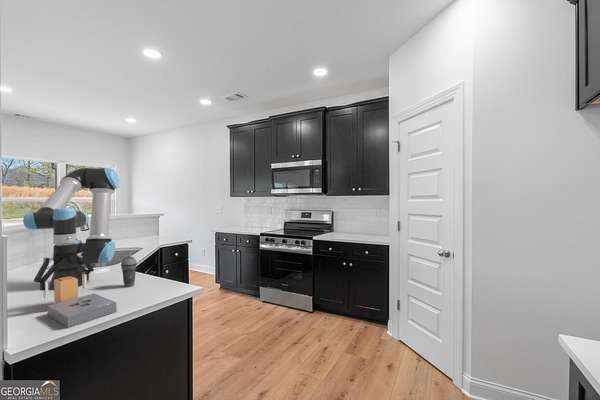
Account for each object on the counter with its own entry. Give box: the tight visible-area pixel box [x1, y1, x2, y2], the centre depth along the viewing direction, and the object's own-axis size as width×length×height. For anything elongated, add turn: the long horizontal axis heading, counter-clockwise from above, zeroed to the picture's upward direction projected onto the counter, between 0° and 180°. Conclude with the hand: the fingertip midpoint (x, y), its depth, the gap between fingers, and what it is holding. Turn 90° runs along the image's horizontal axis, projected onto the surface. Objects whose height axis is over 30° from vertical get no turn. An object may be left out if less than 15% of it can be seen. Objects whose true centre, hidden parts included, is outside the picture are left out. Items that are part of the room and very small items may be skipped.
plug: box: [53, 276, 79, 304], centre depth 120 cm, size 7×6×12 cm
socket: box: [46, 293, 118, 329], centre depth 111 cm, size 20×16×4 cm
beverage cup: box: [120, 247, 138, 288], centre depth 145 cm, size 7×7×20 cm
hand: (66, 292), depth 119 cm, fingers open, 13 cm apart
